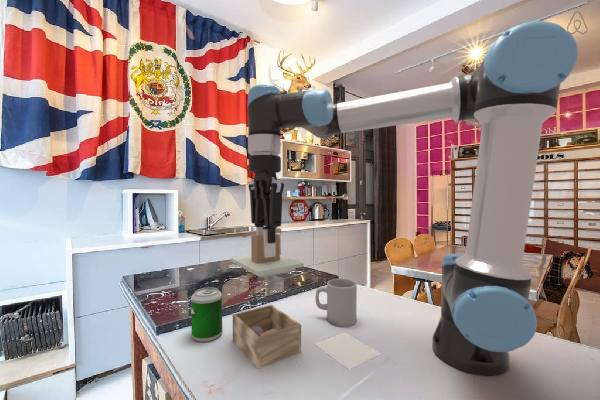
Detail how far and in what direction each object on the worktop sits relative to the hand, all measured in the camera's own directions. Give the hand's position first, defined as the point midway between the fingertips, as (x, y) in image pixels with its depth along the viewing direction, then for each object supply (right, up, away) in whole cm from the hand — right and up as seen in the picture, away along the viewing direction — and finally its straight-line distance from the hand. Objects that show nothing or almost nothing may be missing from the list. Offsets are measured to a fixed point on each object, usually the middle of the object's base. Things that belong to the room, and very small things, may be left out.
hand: (265, 255), depth 69 cm
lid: (0, -2, 0) cm, 2 cm away
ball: (-3, -22, +3) cm, 22 cm away
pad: (+19, -23, 0) cm, 29 cm away
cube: (+2, -22, -2) cm, 22 cm away
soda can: (-16, -23, +6) cm, 28 cm away
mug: (+18, -22, +16) cm, 33 cm away
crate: (0, -22, +1) cm, 22 cm away
